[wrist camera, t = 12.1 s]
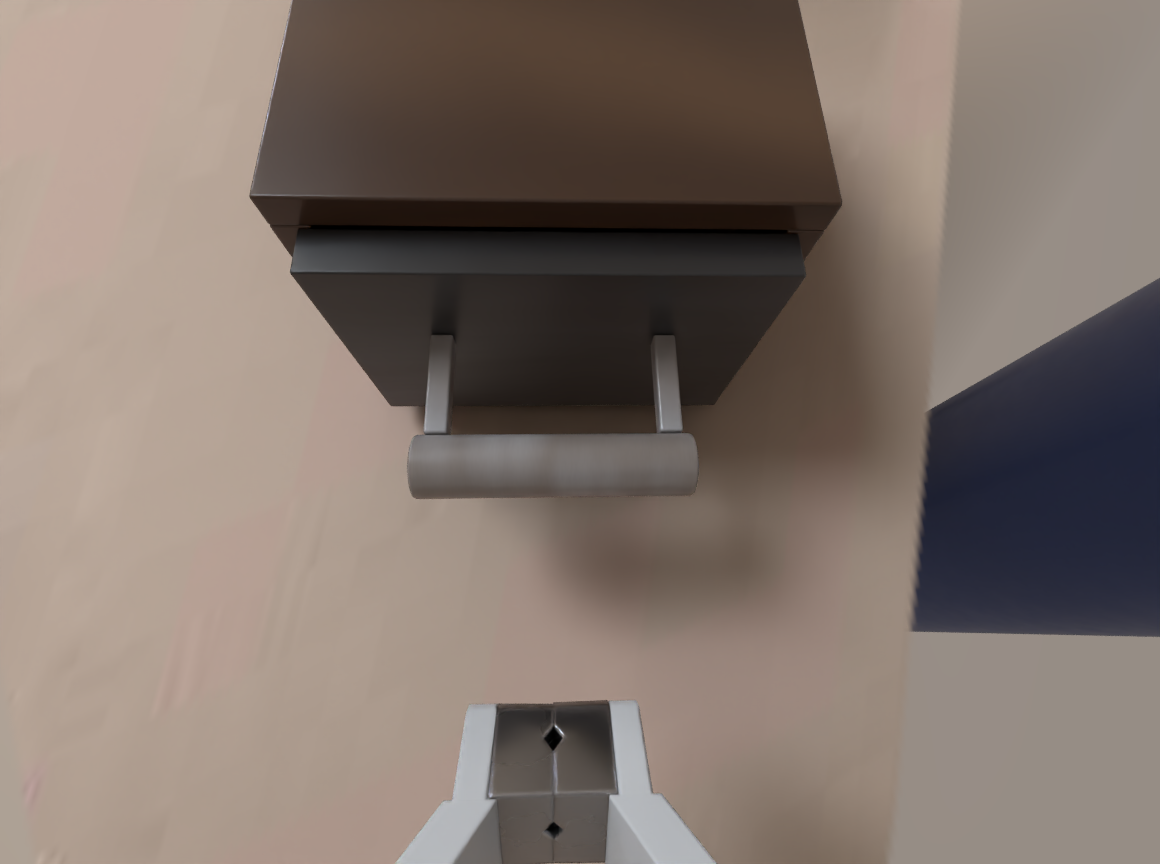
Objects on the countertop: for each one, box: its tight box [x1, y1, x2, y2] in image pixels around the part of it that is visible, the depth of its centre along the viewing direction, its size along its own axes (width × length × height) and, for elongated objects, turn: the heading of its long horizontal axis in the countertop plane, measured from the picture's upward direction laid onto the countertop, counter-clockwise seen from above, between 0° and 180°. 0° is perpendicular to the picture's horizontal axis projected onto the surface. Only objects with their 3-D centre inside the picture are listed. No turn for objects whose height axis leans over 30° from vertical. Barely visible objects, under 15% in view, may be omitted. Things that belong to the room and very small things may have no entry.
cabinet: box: [250, 0, 842, 261], centre depth 19 cm, size 15×13×10 cm
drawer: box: [290, 226, 806, 499], centre depth 18 cm, size 18×12×8 cm, turn 1°
